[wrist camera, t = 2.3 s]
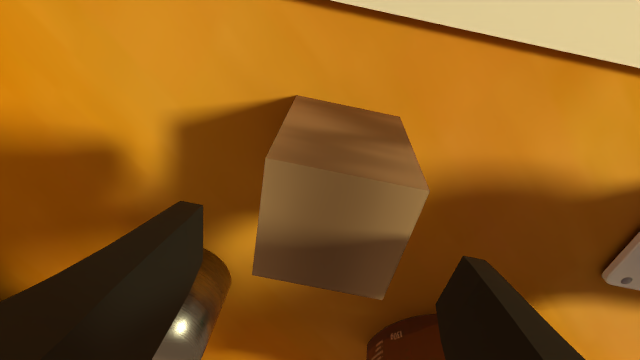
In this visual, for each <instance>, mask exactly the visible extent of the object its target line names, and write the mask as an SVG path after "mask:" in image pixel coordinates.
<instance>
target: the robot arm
mask: <svg viewBox="0 0 640 360" xmlns="http://www.w3.org/2000/svg"><path fill="white" fill-rule="evenodd" d="M202 261H203V205H199V204H194V203H189V202H184V201H180V202H178V203H176V204H174V205H173V206H171V207H170V208H168V209H166V210H165V211H163V212H162V213H160V214H158V215H157V216H155V217H154V218H152V219H150V220H149V221H147V222H146V223H144V224H142V225H141V226H139V227H138V228H136V229H134V230H133V231H131V232H130V233H128V234H126V235H125V236H123V237H121V238H120V239H118V240H116V241H115V242H113V243H111V244H110V245H108V246H106V247H105V248H103V249H101V250H99V251H98V252H96V253H94V254H92V255H90V256H89V257H87V258H85V259H83V260H81V261H80V262H78V263H76V264H74V265H72V266H71V267H69V268H67V269H65V270H63V271H61V272H60V273H58V274H56V275H54V276H52V277H50V278H48V279H46V280H44V281H42V282H40V283H38V284H36V285H34V286H32V287H30V288H28V289H26V290H24V291H22V292H20V293H18V294H16V295H14V296H12V297H9V298H7V299H5V300H3V301H1V302H0V360H152V358H153V357H154V355H155V353H156V351H157V350H158V348H159V346H160V344H161V343H162V341H163V339H164V337H165V336H166V334H167V332H168V330H169V329H170V327H171V325H172V323H173V322H174V320H175V318H176V316H177V314H178V313H179V311H180V309H181V307H182V306H183V304H184V302H185V300H186V298H187V296H188V295H189V292H190V290H191V288H192V285H193V283H194V281H195V279H196V276H197V274H198V271H199V269H200V266H201V264H202ZM602 278H603V279H604V280H605V281H606V283H607V284H610V285H614V286H619V287H625V288H630V289H635V290H640V232H639V233H638V234H637V235H636V236H635V237H634V238H633V240H632V241H631V242H630V243H629V244H628V245H627V246H626V247H625V248H624V250H623V251H622V252H621V253H620V254H619V255H618V256H617V257H616V258H615V259H614V261H613V262H612V263H611V264H610V265H609V266H608V267H607V268H606V269H605V271H604V272H603V273H602ZM436 311H437V319H438V327H439V333H440V340H441V344H442V348H443V352H444V356H445V360H585V359H584V358H583V357H582V356H581V355H580V354H579V353H578V352H577V351H576V350H575V349H574V348H573V347H572V346H571V345H570V344H569V343H568V342H567V341H565V340H564V339H563V338H562V337H561V336H560V335H559V334H558V333H557V332H556V331H555V330H554V329H553V328H552V327H551V326H550V325H549V324H548V323H547V322H546V321H545V320H544V319H543V318H542V317H541V316H540V315H539V314H538V313H537V311H536V310H535V309H534V308H533V307H532V306H531V305H530V304H529V303H528V302H527V301H526V300H525V299H524V298H523V297H522V296H521V295H520V294H519V293H518V292H517V291H516V290H515V289H514V288H513V287H512V286H511V285H510V284H509V283H508V282H507V281H506V280H505V279H504V278H503V277H502V276H501V275H500V274H499V273H498V272H497V271H496V270H495V269H494V268H493V267H492V266H491V265H490V264H489V263H487V262H486V261H485V260H482V259H477V258H472V257H467V256H463V257H462V259H461V261H460V262H459V264H458V266H457V268H456V269H455V271H454V273H453V275H452V276H451V278H450V280H449V282H448V283H447V285H446V287H445V289H444V290H443V292H442V294H441V296H440V298H439V299H438V301H437V303H436Z"/></svg>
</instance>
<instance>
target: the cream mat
mask: <svg viewBox="0 0 640 360" xmlns="http://www.w3.org/2000/svg"><path fill="white" fill-rule="evenodd" d="M332 1H336V2H341V3H345V4H350V5H355V6H359V7H364V8H368V9H373V10H377V11H382V12H386V13H391V14H396V15H400V16H405V17H409V18H414V19H418V20H423V21H428V22H432V23H437V24H441V25H446V26H450V27H455V28H459V29H464V30H469V31H473V32H478V33H482V34H487V35H491V36H496V37H500V38H505V39H510V40H514V41H519V42H523V43H528V44H532V45H537V46H542V47H546V48H551V49H555V50H560V51H564V52H569V53H573V54H578V55H583V56H587V57H592V58H596V59H601V60H605V61H610V62H614V63H619V64H624V65H628V66H633V67H637V68H640V0H332Z"/></svg>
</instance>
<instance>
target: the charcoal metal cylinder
mask: <svg viewBox="0 0 640 360" xmlns="http://www.w3.org/2000/svg"><path fill="white" fill-rule="evenodd" d="M230 285H231V276H230V273H229V270H228V269H227V267H226V265H225V264H224V263H223V262H222V261H221V260H220V259H219V258H218V257H217V256H216V255H214V254H213V253H212V252H210V251H208V250H206V249H204V248H203V261H202V264H201V266H200V269H199V271H198V274H197V276H196V279H195V281H194V283H193V285H192V288H191V290H190V292H189V295H188V296H187V298H186V300H185V302H184V304H183V306H182V307H181V309H180V311H179V313H178V314H177V316H176V318H175V320H174V322H173V323H172V325H171V327H170V329H169V330H168V332H167V334H166V336H165V337H164V339H163V341H162V343H161V344H160V346H159V348H158V350H157V351H156V353H155V355H154V357H153V358H152V360H201V358H202V355H203V353H204V350H205V348H206V345H207V343H208V340H209V338H210V335H211V333H212V330H213V328H214V325H215V323H216V320H217V318H218V315H219V313H220V310H221V308H222V305H223V303H224V300H225V298H226V295H227V293H228V290H229V288H230Z"/></svg>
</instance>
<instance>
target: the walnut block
mask: <svg viewBox="0 0 640 360" xmlns="http://www.w3.org/2000/svg"><path fill="white" fill-rule="evenodd" d="M429 192H430V190H429V188H428V185H427V183H426V180H425V178H424V176H423V173H422V171H421V168H420V166H419V163H418V161H417V158H416V156H415V153H414V151H413V148H412V146H411V144H410V141H409V139H408V136H407V134H406V131H405V129H404V126H403V124H402V121H401V119H400V117H398V116H393V115H388V114H383V113H379V112H374V111H369V110H364V109H360V108H355V107H350V106H345V105H341V104H336V103H331V102H326V101H321V100H317V99H312V98H307V97H302V96H298V95H296V97H295V99H294V101H293V103H292V105H291V108H290V110H289V112H288V114H287V116H286V118H285V120H284V122H283V124H282V126H281V128H280V130H279V132H278V134H277V136H276V138H275V140H274V142H273V144H272V146H271V148H270V150H269V152H268V154H267V156H266V158H265V167H264V176H263V184H262V193H261V202H260V211H259V219H258V228H257V237H256V246H255V254H254V263H253V272H252V275H255V276H260V277H265V278H270V279H275V280H281V281H286V282H291V283H296V284H301V285H307V286H312V287H317V288H322V289H327V290H333V291H338V292H343V293H348V294H353V295H359V296H364V297H369V298H374V299H379V300H383V298H384V295H385V293H386V291H387V289H388V286H389V284H390V282H391V279H392V277H393V275H394V273H395V270H396V268H397V266H398V263H399V261H400V259H401V256H402V254H403V252H404V250H405V247H406V245H407V243H408V240H409V238H410V236H411V233H412V231H413V229H414V227H415V224H416V222H417V220H418V217H419V215H420V213H421V210H422V208H423V206H424V204H425V201H426V199H427V197H428V194H429Z"/></svg>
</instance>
